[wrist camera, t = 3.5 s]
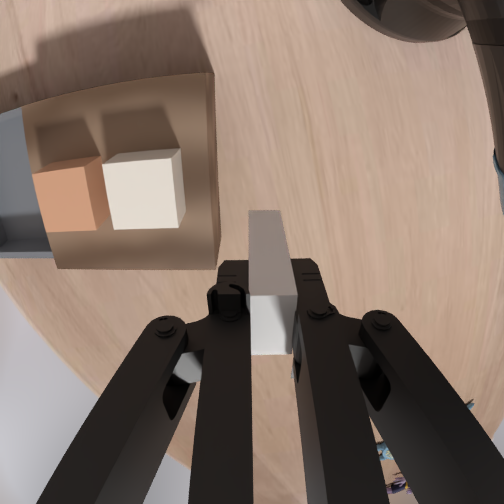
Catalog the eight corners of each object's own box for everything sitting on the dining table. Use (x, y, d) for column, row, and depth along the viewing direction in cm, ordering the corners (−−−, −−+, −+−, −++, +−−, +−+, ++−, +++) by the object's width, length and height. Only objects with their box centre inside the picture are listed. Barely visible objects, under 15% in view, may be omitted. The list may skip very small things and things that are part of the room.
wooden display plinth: (56, 97, 25) (21, 106, 20) (214, 73, 25) (204, 72, 20) (81, 239, 33) (57, 268, 28) (221, 236, 33) (215, 269, 28)
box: (-19, 121, 25) (-41, 129, 21) (54, 98, 25) (32, 103, 21) (9, 241, 33) (-7, 258, 30) (80, 239, 33) (64, 258, 30)
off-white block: (117, 153, 22) (102, 164, 20) (180, 148, 22) (171, 158, 20) (126, 212, 25) (113, 229, 22) (186, 210, 25) (178, 228, 22)
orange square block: (51, 162, 22) (31, 174, 20) (100, 155, 22) (83, 166, 20) (62, 216, 25) (46, 232, 22) (110, 213, 25) (96, 230, 22)
